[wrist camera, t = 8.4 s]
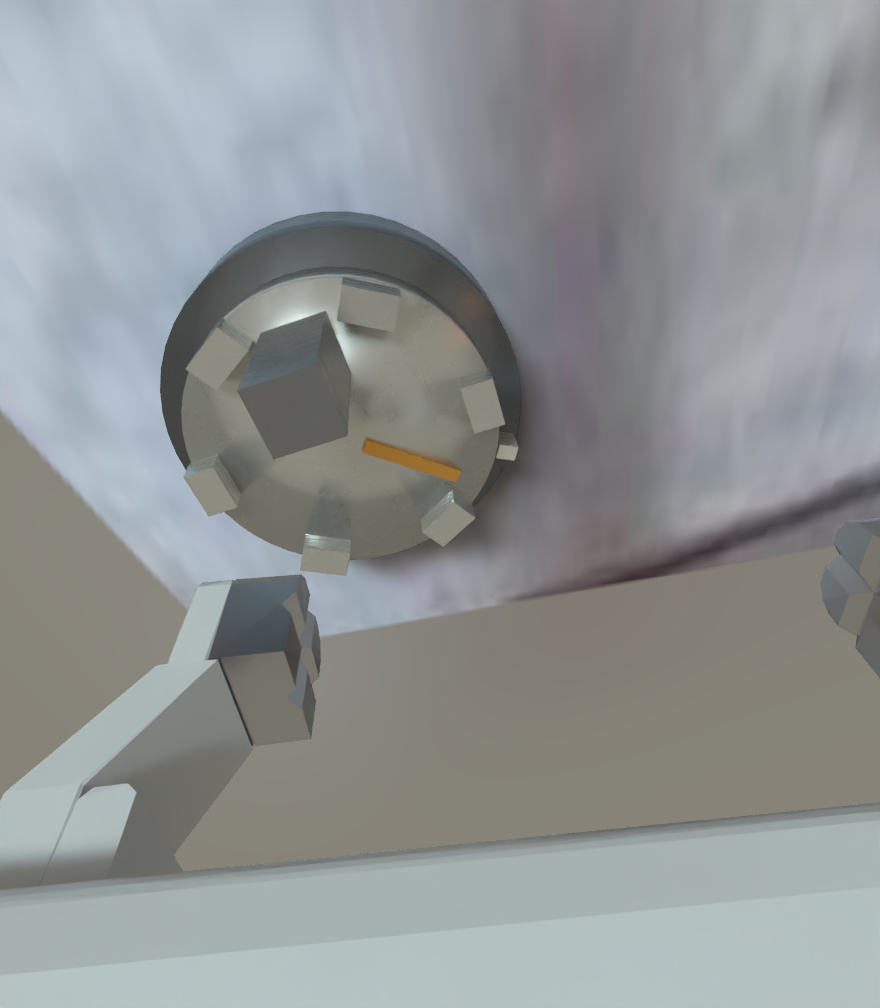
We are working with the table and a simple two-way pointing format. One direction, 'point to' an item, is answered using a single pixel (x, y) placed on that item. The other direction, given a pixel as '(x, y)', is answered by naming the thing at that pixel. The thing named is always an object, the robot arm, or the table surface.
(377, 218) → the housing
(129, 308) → the table surface
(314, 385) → the round clock
